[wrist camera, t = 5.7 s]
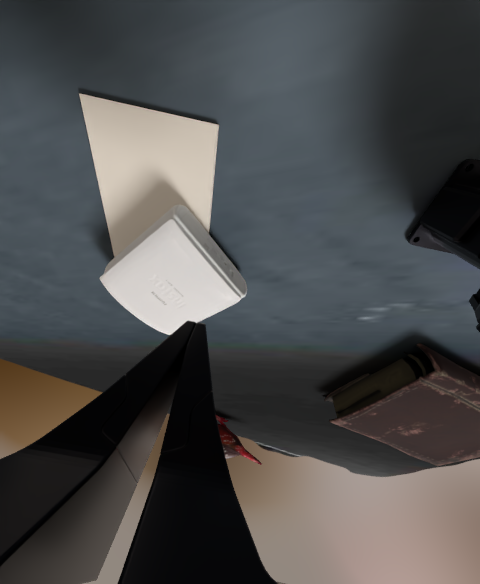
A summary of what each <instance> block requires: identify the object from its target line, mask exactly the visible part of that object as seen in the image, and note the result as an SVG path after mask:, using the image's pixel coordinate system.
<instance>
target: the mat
mask: <svg viewBox="0 0 480 584" xmlns="http://www.w3.org/2000/svg"><path fill="white" fill-rule="evenodd" d="M79 95H80V100H81V105H82V109H83V114H84V118H85V123H86V128H87V132H88V137H89V142H90V146H91V151H92V156H93V160H94V165H95V170H96V174H97V179H98V183H99V188H100V193H101V197H102V202H103V207H104V211H105V216H106V221H107V225H108V230H109V235H110V239H111V244H112V248H113V253H114V258H115V257H116V256H117V255H118V254H119V253H121V252H122V251H123V250H124V249H125V248H126V247H127V246H128V245H130V244H131V243H132V242H133V241H134V240H135V239H136V238H138V237H139V236H140V235H141V234H142V233H143V232H145V231H146V230H147V229H148V228H149V227H150V226H151V225H153V224H154V223H155V222H156V221H157V220H158V219H159V218H161V217H162V216H163V215H164V214H165V213H166V212H168V211H169V210H170V209H171V208H172V207H173V206H175V205H183V206H185V207H187V209H188V210H189V211H190V212H191V213H192V214H193V215H194V216H195V218H196V219H197V220H198V221H199V222H200V224H201V225H202V226H203V227H204V229H205V230H206V231H207V232H208V234H209V229H210V218H211V207H212V196H213V185H214V174H215V163H216V152H217V141H218V130H219V125H217V124H212V123H208V122H204V121H199V120H195V119H190V118H186V117H181V116H177V115H173V114H168V113H164V112H159V111H155V110H150V109H146V108H142V107H137V106H133V105H128V104H124V103H119V102H115V101H111V100H106V99H102V98H97V97H93V96H88V95H84V94H79Z"/></svg>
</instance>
